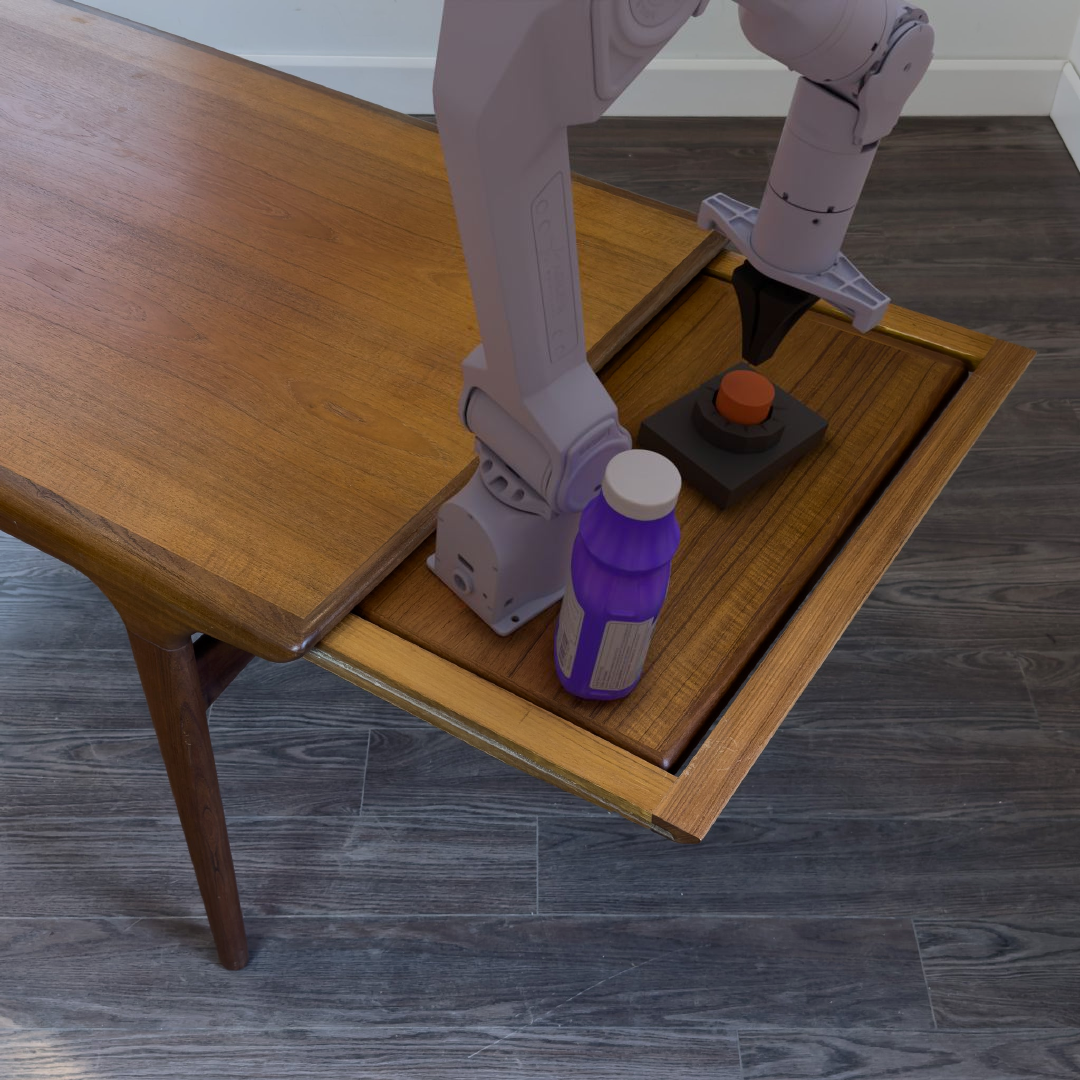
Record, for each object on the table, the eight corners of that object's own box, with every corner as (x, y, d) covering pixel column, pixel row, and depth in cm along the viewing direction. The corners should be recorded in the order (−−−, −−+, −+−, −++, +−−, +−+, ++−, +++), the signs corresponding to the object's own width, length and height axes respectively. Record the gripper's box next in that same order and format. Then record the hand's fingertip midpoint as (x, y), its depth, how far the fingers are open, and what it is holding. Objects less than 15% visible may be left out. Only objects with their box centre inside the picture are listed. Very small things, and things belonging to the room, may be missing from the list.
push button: (744, 434, 81) (752, 413, 80) (704, 404, 83) (710, 383, 81) (778, 412, 83) (785, 391, 82) (738, 383, 85) (744, 362, 83)
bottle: (640, 715, 68) (703, 530, 55) (549, 708, 68) (591, 519, 55) (636, 621, 73) (693, 430, 60) (551, 613, 73) (590, 420, 60)
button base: (724, 511, 81) (737, 473, 78) (635, 442, 85) (645, 403, 82) (821, 442, 87) (837, 405, 84) (735, 381, 91) (747, 342, 88)
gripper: (944, 223, 68) (870, 389, 78) (764, 120, 74) (717, 286, 84) (879, 261, 64) (810, 430, 75) (695, 149, 71) (655, 319, 81)
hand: (756, 356), depth 79 cm, fingers closed
